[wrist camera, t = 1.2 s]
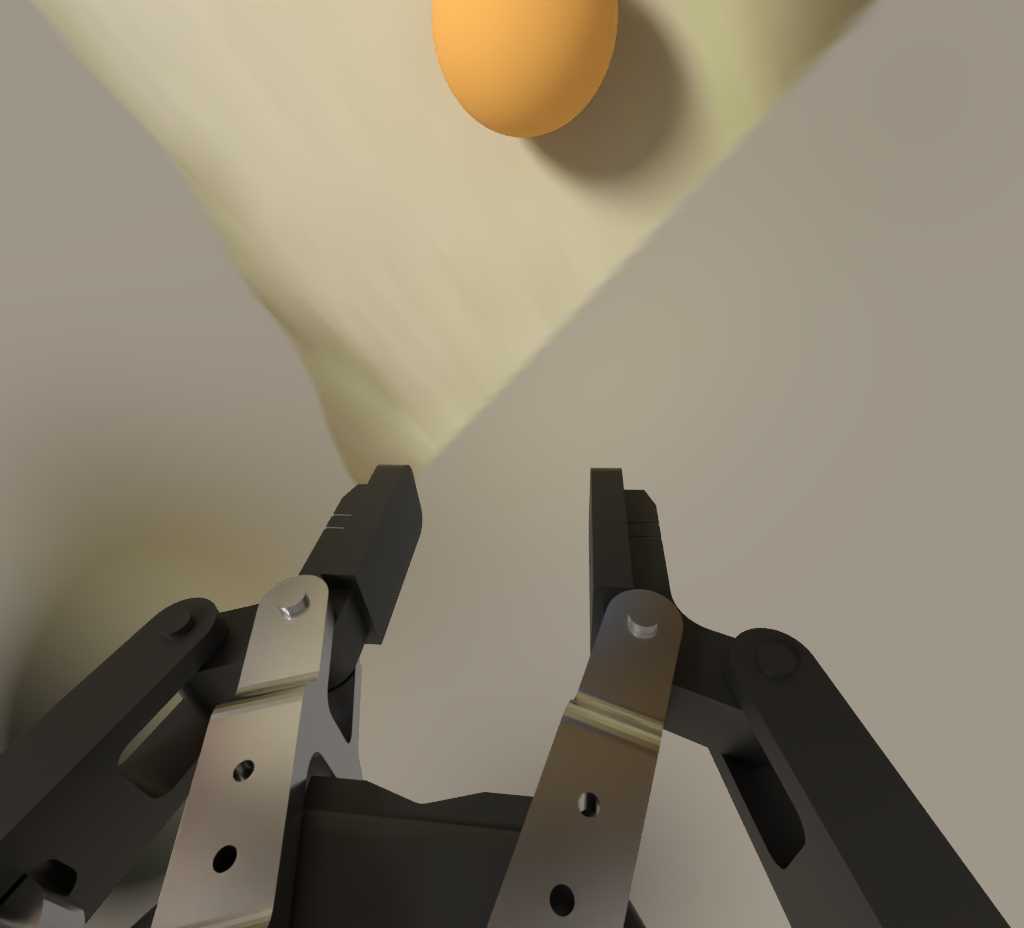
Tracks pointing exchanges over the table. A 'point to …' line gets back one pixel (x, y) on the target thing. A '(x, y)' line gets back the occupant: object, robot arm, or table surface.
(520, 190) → the table surface
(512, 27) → the ball
